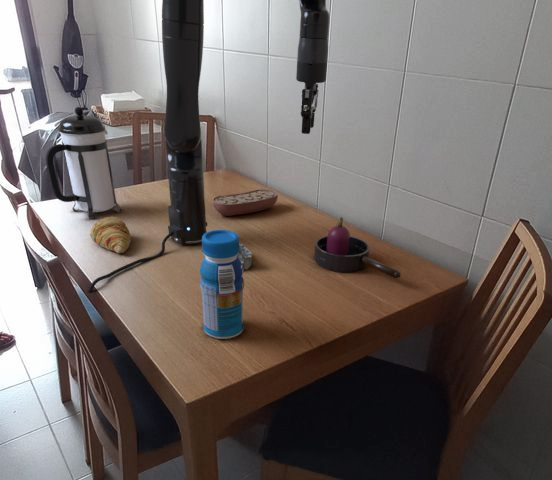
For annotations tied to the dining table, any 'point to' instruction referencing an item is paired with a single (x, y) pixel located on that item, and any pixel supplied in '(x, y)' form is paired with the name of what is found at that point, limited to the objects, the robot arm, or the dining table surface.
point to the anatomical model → (245, 202)
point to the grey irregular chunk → (244, 256)
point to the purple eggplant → (338, 239)
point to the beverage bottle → (222, 284)
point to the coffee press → (84, 164)
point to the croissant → (111, 234)
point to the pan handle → (381, 267)
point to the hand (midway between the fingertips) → (307, 130)
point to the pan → (341, 256)
